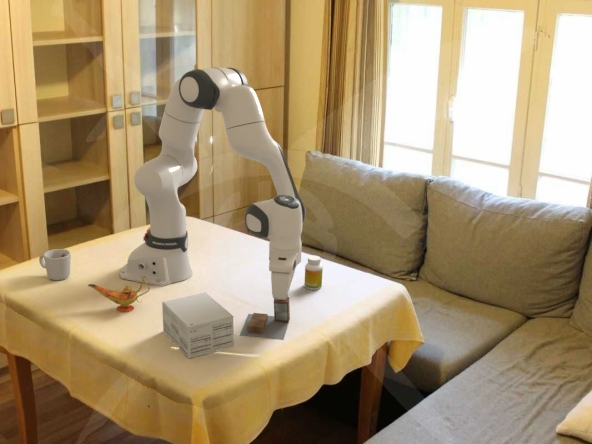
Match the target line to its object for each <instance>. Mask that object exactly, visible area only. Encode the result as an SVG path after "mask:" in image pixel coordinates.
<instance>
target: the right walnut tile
mask: <svg viewBox="0 0 592 444" xmlns="http://www.w3.org/2000/svg"><path fill="white" fill-rule="evenodd" d="M290 309H291V308H290V297H289V296H288V297H287V298H286V300H278V299H274V298H273V314H274V315H273V316H274V319H275V321H278V322H289V323H290V320H289V319H291V316H290V315H291V314H290V312H291V311H290Z"/></svg>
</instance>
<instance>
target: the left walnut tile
mask: <svg viewBox="0 0 592 444" xmlns="http://www.w3.org/2000/svg"><path fill="white" fill-rule="evenodd" d="M252 314H253V315H252V318H251V320H250V323H249V325H248V333H257V334H263V332H264V329H265V326H266V323H267V321H268V316H269V315H268V313H261V312H260V313H259V312H253V313H252Z"/></svg>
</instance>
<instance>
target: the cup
mask: <svg viewBox="0 0 592 444" xmlns="http://www.w3.org/2000/svg"><path fill="white" fill-rule="evenodd" d="M71 255H72V253H71V251H70V250H68V249H65V248H64V249H63V248H56V249H50V250H48V251H45V252H44V253H42V254H41V255H39V265H40V266H41V267H42V268H43V269H46V274H47V277H48V278H49V280H53V281H64V280H65V279H67V278H68V277H69V276H70V274H71Z"/></svg>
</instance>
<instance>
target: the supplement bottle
mask: <svg viewBox="0 0 592 444" xmlns="http://www.w3.org/2000/svg"><path fill="white" fill-rule="evenodd" d="M321 259H322V258H321V257H320V256H318V255H309V256H308V257H307V263H305V265H304V267H305V268H304V287H305V288H306V289H308V290H312V291H315V290H317V291H318V290H320V289H321V288H322V286H323V285H322V284H323V269H324V268H323V264H322V263H321V261H322V260H321Z"/></svg>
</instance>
